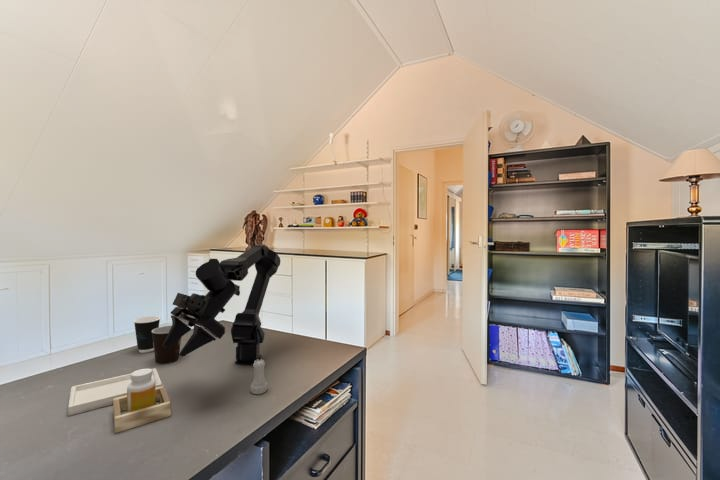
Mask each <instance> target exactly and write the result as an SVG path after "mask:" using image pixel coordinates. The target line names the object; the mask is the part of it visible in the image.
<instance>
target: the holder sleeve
mask: <svg viewBox="0 0 720 480" xmlns="http://www.w3.org/2000/svg"><path fill="white" fill-rule="evenodd" d="M155 400H156V401H155V403H156V402H159V404H156V405H154V406H151V407H147V408H144V409H140V410H137V411H133V412H129V413H127V412H126V413H123V414H121V412H123V411H127V395H125V396H121V397H117V398H114V399H113V405H112V409H113V410H112V411H113V412H112V413H113V414H112V415H113V425H114V426H113V427H114V434H116V433H117V434H118V433H120V432H123V431H126V430H130V429H133V428H136V427H139V426H142V425H146V424H150V423H151V422H152V423H153V422H155V421H159V420H162V419H166V418H168V417H171V411H172V410H171V401H170V398H169V396H168V394H167V390H166V388H165V386H164V385H162V386H161V387H157V388H156V389H155Z"/></svg>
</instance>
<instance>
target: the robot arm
mask: <svg viewBox="0 0 720 480" xmlns="http://www.w3.org/2000/svg"><path fill="white" fill-rule="evenodd" d="M280 265H281V257H280V256H279V255H278V253H277V252H276V251H274V250H272V249H270V248H269V246H267V245H263V244H254V245H251V247H250V248H249V249H248V250H247V249H246V251H244V252H243V253H241V254H240V255H238V256H236V257H235V258H234V257H231V258H227V259H223V260H221V261H220V260H218V258H209V260H208V261H206V262H204V263H202V264H200V266H199V267H197V269H196V270H195V276H196V278H197V279H198V280H199V281H200V283H201V284H202V285H203V287H204V288H205V289H206V290H207V291H208V292H207V293H206V294H205V295H204V294H198V293H191V295H187V294H184V293H180V292H177V294H176V296H175V298H174V299H173V302H172V306H175V307H174V308H173V309H172V310H171V311H170V314H171V315H170V318H171V321H172V324H171V325H172V327H171V329H170V331H169V333H168V335H167V337H166V339H165V341H164V343H163V346H164V347H165V348H166V347H168V346H170V345H171V344H172V343H174V342H175V341H176V340H178V339H179V338H181V337H183V336H185V335H186V334H187V333H188V332H190V331H192V327H193V331H192V334H191V336H190V337H189V338H188V340H187V342H186V343H185V344H184V345H183V347H182V349H180V352H179V357H182V358H183V357H185V356H187V355H189V354H190V353H192V352H195V351H196V350H198V349H199V348H201V347H203V346H205V345H207V344H209V343H211V342H213V341H214V342H215V341H216V340H217V339H219V340H221V338H223V336H224V335H225V333H226V327H225V326H224V325H222V324H221V323H220V322H219V321H218V320H217V319H216V318H217V316H218V315H219V313H222V314H223V313H224V312H225V311H226V309H225V308H224V307H225V306H226V305H228V302H230V300H231V299H232V298H233V297H234V296H237V297H239V296H240V295H241V294H240V293H241V291H240V290H241V287H240V285H237V284H235V283H234V281H235V282H236V281H237V282H242V281H243V280H244V279H245V278H246V277H247V276H248V274H249V269H251V267H252V266H254V267H255V270H256V275H255V278H254V281H253V284H252V285H251V286H252V287H251V290H250V293H249V295H248V299H247V301H246V305H245V307H244V310H243V311H242V312H237V313H236V315H235V318H234V321H233V322H232V326H231V327H230V328H231V329H230V334H231V339H232V343H233V344H237V346H236V347H235V361H234V364H235V365H253V364H254V361H255V360H256V361H257V360H258V359H259V360H260V359H262V355H261V354H260V352H261V350H260V346H261V345H260V344H263V343H264V340H265V335H266V334H265V332H264V330H263V328H262V322H261V319H260V315H259V314H260V312H261V308H262V306H263V303H264V299H265V295H266V292H267V290H268V285H269V282H270V280H271V278H272V277H273V276H274V275H275V274H277V272H278V269H279V267H280ZM181 339H182V338H181Z"/></svg>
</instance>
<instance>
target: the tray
mask: <svg viewBox="0 0 720 480" xmlns="http://www.w3.org/2000/svg"><path fill="white" fill-rule="evenodd" d="M150 369H151V370H152V377H151V378H154V379H155V382H156V388H157V387H161V386H163V383H162V381H161V379H160V376H159V373H158V370H157V368H156V367H154V368H150ZM130 382H132V381H131V373H127V374H122V375H118V376H114V377H109V378H104V379H100V380H95V381H91V382H87V383H82V384H78V385H73V386H71V390H70V393H69V401H68V406H67V407H68V409H67V416H68V417H71V416H73V415H78V414H83V413H85V412H89V411H93V410H97V409H98V410H99V409H100V408H106V407H108V406H113V399H114V398H117V397H121V396H125V395H127V386H128V384H129V383H130Z"/></svg>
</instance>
